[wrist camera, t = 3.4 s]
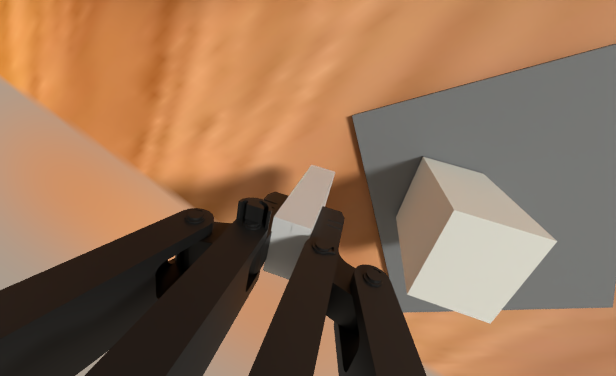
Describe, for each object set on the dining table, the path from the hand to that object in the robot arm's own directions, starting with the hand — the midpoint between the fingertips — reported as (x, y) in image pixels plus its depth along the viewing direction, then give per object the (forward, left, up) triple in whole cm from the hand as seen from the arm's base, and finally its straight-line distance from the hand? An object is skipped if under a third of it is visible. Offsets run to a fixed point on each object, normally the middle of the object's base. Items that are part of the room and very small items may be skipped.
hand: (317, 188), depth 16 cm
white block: (+4, +7, -4) cm, 9 cm away
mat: (+6, +10, -5) cm, 12 cm away
